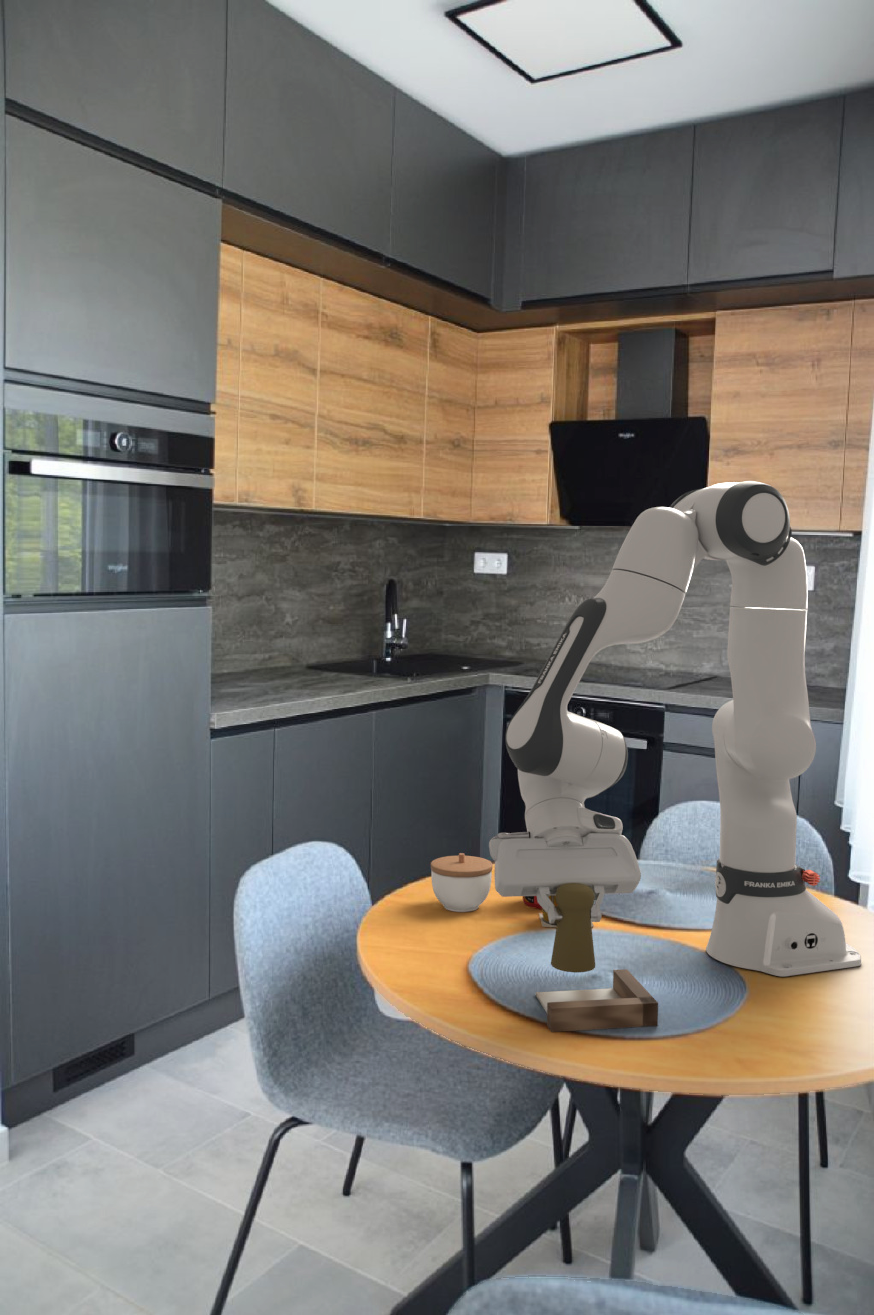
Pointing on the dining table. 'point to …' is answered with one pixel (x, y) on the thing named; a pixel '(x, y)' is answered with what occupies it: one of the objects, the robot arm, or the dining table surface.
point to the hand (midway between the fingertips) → (575, 921)
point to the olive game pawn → (574, 929)
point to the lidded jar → (461, 881)
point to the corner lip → (601, 1006)
